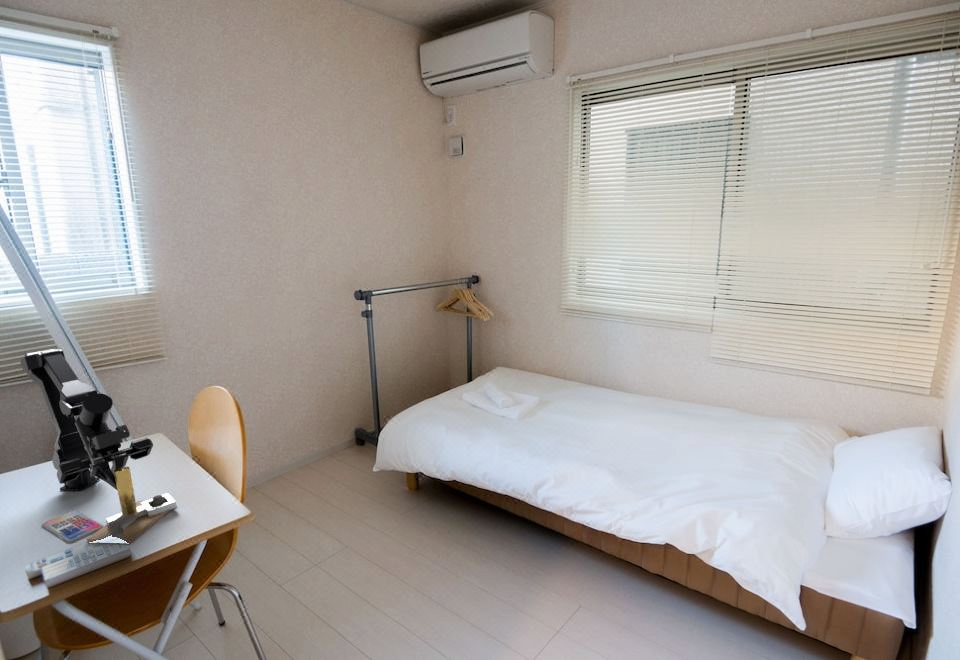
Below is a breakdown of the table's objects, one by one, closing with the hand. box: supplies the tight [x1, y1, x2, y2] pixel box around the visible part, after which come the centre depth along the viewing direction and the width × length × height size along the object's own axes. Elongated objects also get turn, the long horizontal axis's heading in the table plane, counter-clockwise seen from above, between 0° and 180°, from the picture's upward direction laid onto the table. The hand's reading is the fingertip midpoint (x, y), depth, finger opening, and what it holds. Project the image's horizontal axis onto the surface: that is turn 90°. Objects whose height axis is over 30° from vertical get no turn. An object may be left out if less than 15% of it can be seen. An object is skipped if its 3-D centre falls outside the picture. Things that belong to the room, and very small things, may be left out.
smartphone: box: [41, 510, 105, 544], centre depth 123 cm, size 7×1×15 cm
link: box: [105, 466, 177, 528], centre depth 124 cm, size 14×6×12 cm, turn 136°
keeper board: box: [86, 494, 172, 545], centre depth 124 cm, size 10×16×4 cm, turn 175°
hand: (120, 489), depth 123 cm, fingers closed, pressing on link
